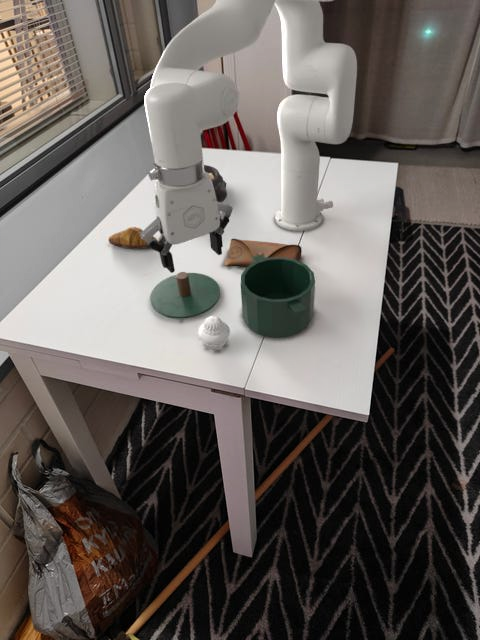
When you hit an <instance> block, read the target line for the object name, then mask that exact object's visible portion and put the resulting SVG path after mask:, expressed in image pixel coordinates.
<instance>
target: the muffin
mask: <svg viewBox="0 0 480 640" xmlns="http://www.w3.org/2000/svg"><path fill="white" fill-rule="evenodd" d="M197 334H198V338H199V339H200V341H201V343H202V344H203V345H205V346H206V347H207V348H208V349H209V350H211V351H219V350H221V349H222V348H223V347H224V346H225V344H226V343H227V341H228V339H229V337H230V334H231V330H230V326H229V325H228V324H227V323H226V322H225V321H224V320H222V319H221V318H220V317H219V316H215V315H210V316H208V317H207V318H205V319H204V321H203V323H202V324H201V325H200V326H199V328H198V331H197Z"/></svg>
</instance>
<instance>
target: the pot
mask: <svg viewBox="0 0 480 640" xmlns="http://www.w3.org/2000/svg"><path fill="white" fill-rule="evenodd" d="M252 261H253V262H254V263H252V264H251V265H249V266H248V267H246V268H244V270H243V271H242V273H241V274H240V296H241V311H242V313H241V314H242V319H243V322H244V324H245V325H246V327H247V328H248V329H249V330H250V331H252V332H253V333H255V334H257V335H259V336H261V337H264V338H269V339H285V338H290V337H293V336H294V337H295V336H296V335H298V334H301V333H302V332H304V331H305V330H306V329H307V328H308V327H309V326H310V324H311V323H312V320H313V317H314V309H315V308H314V307H315V293H316V277H315V273H314V271H313V270H312V269H311V267H309V265H307V264H306V263H304V262H302V261H301V260H300V261H298V260H296V259H290V258H285V257H273V258H265V257H264V256H263V254H262V255H258V256H254V257H252Z"/></svg>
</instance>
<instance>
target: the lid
mask: <svg viewBox="0 0 480 640" xmlns="http://www.w3.org/2000/svg"><path fill="white" fill-rule="evenodd" d="M220 298H221V287H220V285H219V283H218V282H217V281H216V280H215V279H214V278H213V277H211V276H209V275H206V274H203V273H198V272H186V271H179V272H178V273H176V274H174V275H171V276H168V277H166V278H164V279H163V280H161V281H160V282H158V283H157V284H156V285H155V286H154V287H153V289H152V291H151V293H150V296H149V300H150V305H151V307H152V309H153V310H154V311H155V312H157V313H158V314H159V315H161V316H164V317H166V318H170V319H175V320H183V319H190V318H191V319H192V318H196V317H198V316H201V315H203V314H206V313H207V312H209V311H211V310H212V309H213V308H214V307H215V306H216V305H217V304H218V302H219V300H220Z"/></svg>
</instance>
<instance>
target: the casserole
mask: <svg viewBox="0 0 480 640" xmlns="http://www.w3.org/2000/svg"><path fill="white" fill-rule="evenodd" d="M204 171H205V172H207V173H209V175H210V177H211V180H212V183H213V187H214V191H215V195H216V199H217V202H222V203H224V201H226V199H227V197H228V192H227V182H226V181H225V180H224V178H223V176H222V175H221V174H220V172H219V170H218V169H217V168H216V167H213V166H211V165H208V164H204Z"/></svg>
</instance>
